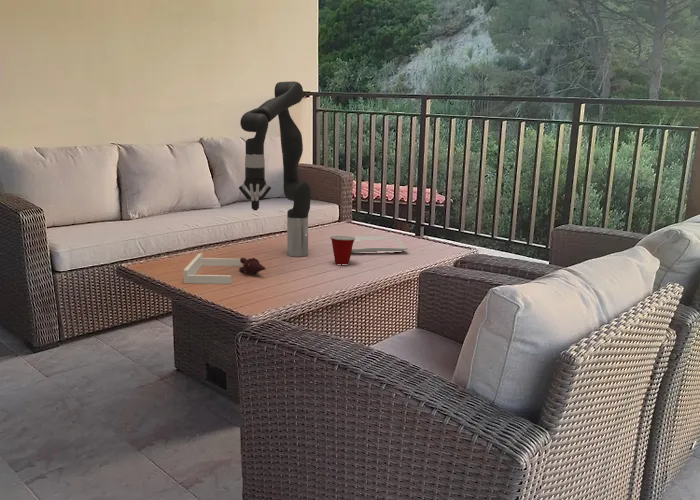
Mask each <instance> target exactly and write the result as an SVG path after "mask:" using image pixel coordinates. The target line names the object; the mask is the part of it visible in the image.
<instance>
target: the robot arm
mask: <svg viewBox="0 0 700 500" xmlns="http://www.w3.org/2000/svg"><path fill="white" fill-rule="evenodd" d="M303 98H304V89H303V86H302V84H301V83H300V82H298V81H293V80H292V81H278V82H277V83H276V84H275V85H274V97H273V98H270V99H268V100H266V101H265V102H263V103H262V104H261V105H259V106H258V107H256V108H253V109H251V110H249V111H247V112H245V113H244V114H242V116H241V118H240V121H239V123H240V127H241V129H242V130H243V131H245V132H247V133H255V135H254V137H251V138H248V139H246V140H245V157H244V173H245V174H244V175H245V177H244V181H243V184H241V185H240V186H239V187H238V190H239V191H240V192H241V193H242V195H243V196H244V197H245V198H246V199H247V200H250V201H251V209H252V211H258V210H259V208H260V201H262V200H263V199H264V198H266V195H267V194H268V193H269V192H270V190H271V189H272V187H271V186H270V185H268V184H267V181H266V178H265V176H266V175H265V174H266V171H265V170H266V169H265V167H266V166H265V140H266V135H267V132H268V128H269V123H270V122H271V121H273V120H274V118H276V117H277V118H278V123H279V132H280V133H279V134H280V135H279V136H280V145H281V154H282V155H281V156H282V168H283V193H284V196H285V198H286V199H287V200H289V201H293V207H292V208H290V209H288V210H287V213H286V216H287V217H286V218H287V219H286V220H287V221H286V227H287V229H286V230H287V232H286V233H287V234H286V235H287V237H286V238H287V239H286V245H287V246H286V248H287V249H286V254H287V255H288V256H290V257H296V258H299V257H308V255H309V214H310V211H311V210H310V209H311V197H312V194H311V193H312V192H311V186H310V184H309V183H308V182H307V181H302V180H299V175H298V167H299V163H300V162H301V161H300V160H301V157H302V155H303V151H304V146H303V144H304V143H303V136H302V132H301V131H300V129H299V127H298V126H297V125H296V123H295V121H294V120H293V118H292V117H291V115H290V111H289V108H291V107H293V106H296V105H297V104H299V103H301V102H302V100H303ZM246 189H247V190H248V191H249V192H248V191H247V190H246ZM263 189H264V192H263V193H262V194H261V192H262V190H263ZM249 193H250V194H249ZM260 195H261V196H260Z"/></svg>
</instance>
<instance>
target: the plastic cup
mask: <svg viewBox="0 0 700 500" xmlns="http://www.w3.org/2000/svg"><path fill="white" fill-rule="evenodd" d="M329 237H330V240H331V243H332V244H331V245H332V252H333V256H334V263H336V264H335V265H337V264H341V265H340V266H343V265H342V264H348V263H349V264H350V261H351V255H352V253H353V252H352V247H353V243H354V240H355V239H356V238H355V237H354V236H350V235H339V234H338V235H335V234H334V235H330V236H329ZM349 264H348V265H349Z"/></svg>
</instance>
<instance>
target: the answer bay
mask: <svg viewBox="0 0 700 500" xmlns="http://www.w3.org/2000/svg"><path fill="white" fill-rule="evenodd" d="M203 254H204V253H202V252H201V253H200V252H199V253H198V254H196V256H195V257H194V258H193V259H192V260H191V261H190V262H189V264H188V265H187V266H185V268H184V269H183V284H199V285H200V284H202V285H203V284H205V285H206V284H207V285H210V284H211V285H213V284H214V285H215V284H217V285H232V275H225V274H222V275H221V274H216V275H215V274H197V273H198V271H199V270H200V269H201V268H202V267H203V266H204V267H205V266H206V267H207V266H209V267H243V263H241V262H240V259H241V258H234V257H233V258H228V257H227V258H226V257H225V258H224V257H223V258H221V257H219V258H218V257H204V256H203Z"/></svg>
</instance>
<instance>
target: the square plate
mask: <svg viewBox="0 0 700 500" xmlns="http://www.w3.org/2000/svg"><path fill="white" fill-rule="evenodd" d="M353 237H355V238H356V239H355V240H354V241H361V240H379V239H387V238H394V240H395V241H396V242H397V243H398V244H399V245H400V246H401V247H402V248H360V249H352V252H351V253H353V252H377V251H404V250H406V251H407V250H408V248H409V247H407V246H406V244H404V243H403V242H402V241H400V240H399V239H398V238H397V237H396V236H381V235H380V236H379V235H377V236H374V235H371V236H370V235H362V236H361V235H359V236H358V235H357V236H353ZM404 252H405V251H404Z"/></svg>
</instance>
